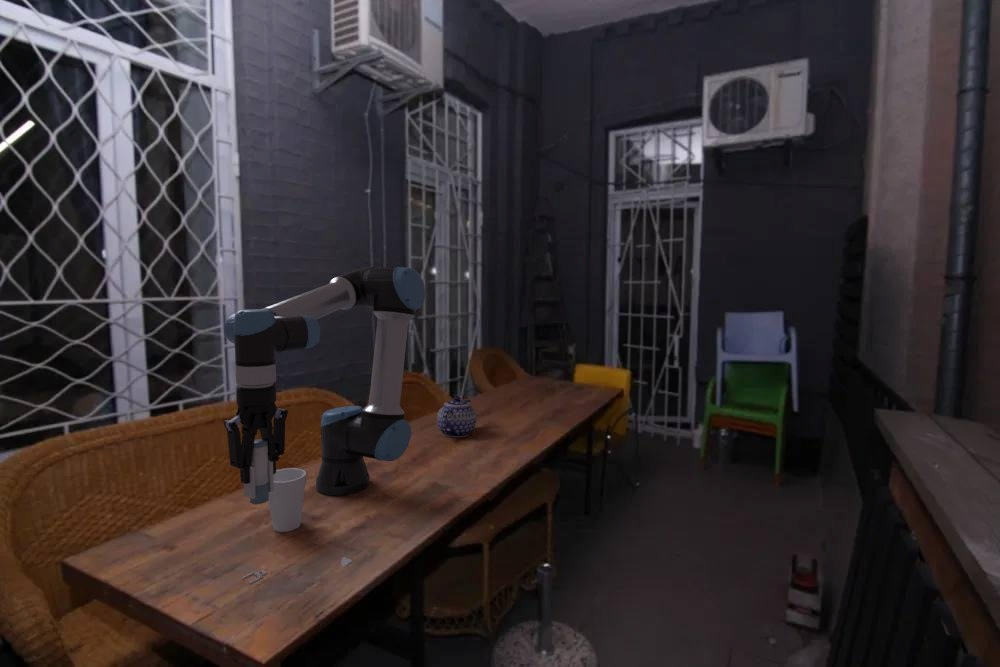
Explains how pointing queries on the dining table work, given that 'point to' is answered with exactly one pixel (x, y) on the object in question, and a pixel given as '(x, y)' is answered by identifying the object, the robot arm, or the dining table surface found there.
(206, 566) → the dining table surface
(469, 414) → the blue ceramic jar
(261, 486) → the cylinder
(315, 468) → the dining table surface
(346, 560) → the small grey pieces
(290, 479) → the foam cup
